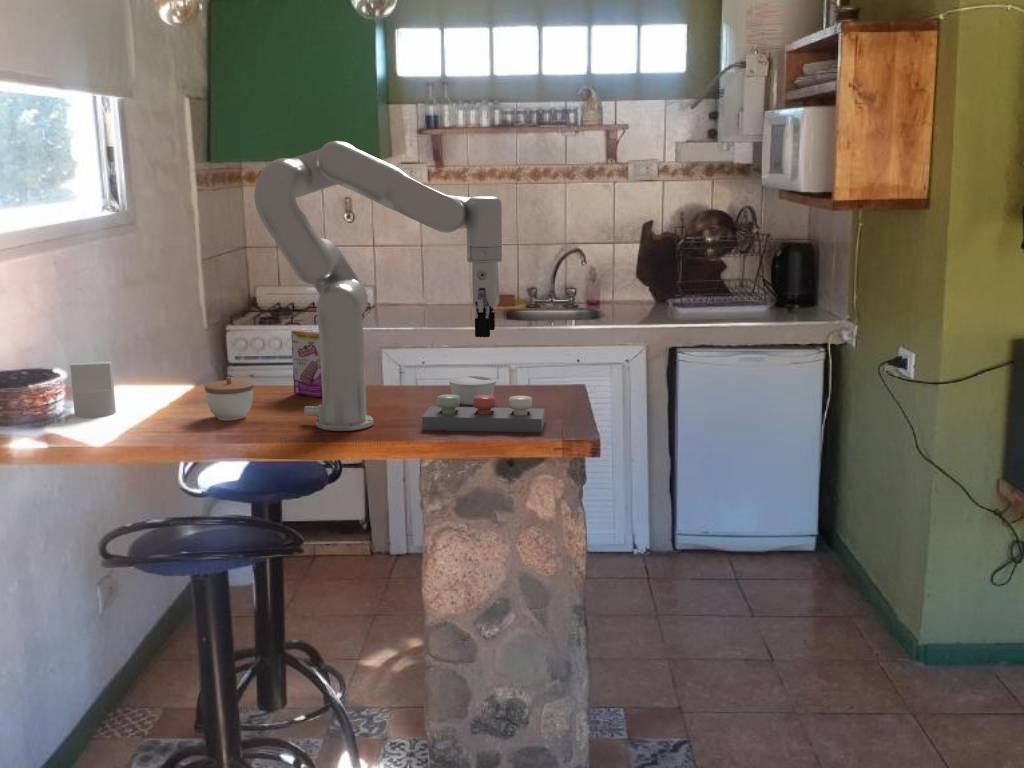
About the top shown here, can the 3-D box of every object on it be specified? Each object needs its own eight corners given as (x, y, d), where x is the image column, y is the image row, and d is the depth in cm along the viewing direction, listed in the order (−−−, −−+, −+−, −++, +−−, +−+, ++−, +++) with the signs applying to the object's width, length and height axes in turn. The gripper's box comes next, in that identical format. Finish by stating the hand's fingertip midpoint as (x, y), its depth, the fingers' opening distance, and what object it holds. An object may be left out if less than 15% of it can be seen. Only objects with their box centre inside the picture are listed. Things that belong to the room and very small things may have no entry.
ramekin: (500, 397, 266) (500, 376, 264) (488, 407, 255) (488, 385, 254) (457, 395, 268) (457, 374, 267) (444, 405, 258) (443, 383, 257)
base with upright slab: (118, 408, 255) (114, 358, 252) (112, 417, 246) (108, 365, 244) (78, 410, 253) (73, 360, 250) (71, 419, 244) (66, 367, 242)
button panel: (422, 430, 233) (422, 416, 232) (430, 419, 243) (430, 406, 242) (541, 432, 230) (541, 419, 230) (544, 421, 240) (544, 408, 240)
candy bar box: (292, 394, 269) (289, 330, 266) (306, 391, 273) (303, 327, 270) (327, 399, 264) (324, 333, 260) (340, 395, 268) (337, 331, 264)
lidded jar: (200, 423, 240) (198, 382, 238) (214, 412, 251) (211, 372, 249) (248, 423, 240) (246, 382, 238) (259, 412, 251) (257, 372, 249)
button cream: (508, 422, 233) (507, 400, 232) (510, 417, 238) (510, 395, 237) (530, 422, 233) (530, 400, 232) (532, 417, 238) (532, 395, 237)
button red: (471, 421, 234) (471, 399, 233) (474, 416, 239) (474, 394, 238) (494, 422, 234) (494, 400, 233) (497, 416, 238) (496, 395, 238)
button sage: (435, 420, 235) (435, 399, 234) (439, 415, 240) (439, 394, 239) (458, 421, 234) (457, 399, 233) (461, 416, 239) (461, 394, 238)
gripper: (497, 258, 221) (498, 340, 225) (505, 251, 238) (505, 327, 241) (461, 258, 222) (462, 339, 225) (472, 251, 239) (472, 327, 242)
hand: (485, 333), depth 233 cm, fingers open, 9 cm apart
